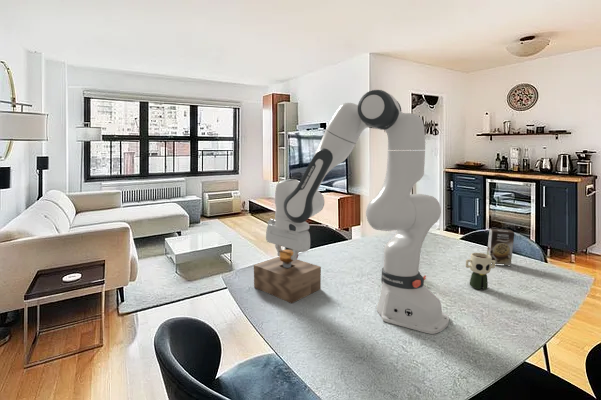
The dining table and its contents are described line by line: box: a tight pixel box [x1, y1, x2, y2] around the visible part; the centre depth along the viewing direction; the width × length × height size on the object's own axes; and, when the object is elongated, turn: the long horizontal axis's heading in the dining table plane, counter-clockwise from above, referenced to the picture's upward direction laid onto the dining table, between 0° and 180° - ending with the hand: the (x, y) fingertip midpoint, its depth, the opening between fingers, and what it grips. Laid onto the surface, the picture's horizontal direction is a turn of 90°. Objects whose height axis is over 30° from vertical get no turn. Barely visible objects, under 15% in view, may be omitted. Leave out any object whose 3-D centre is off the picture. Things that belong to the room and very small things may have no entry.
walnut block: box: [253, 256, 322, 304], centre depth 130 cm, size 20×16×9 cm
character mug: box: [465, 252, 496, 290], centre depth 131 cm, size 11×7×13 cm, turn 85°
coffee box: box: [486, 227, 515, 265], centre depth 158 cm, size 9×6×16 cm
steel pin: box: [280, 249, 294, 269], centre depth 129 cm, size 6×6×12 cm
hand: (286, 258), depth 129 cm, fingers closed on steel pin, 6 cm apart
